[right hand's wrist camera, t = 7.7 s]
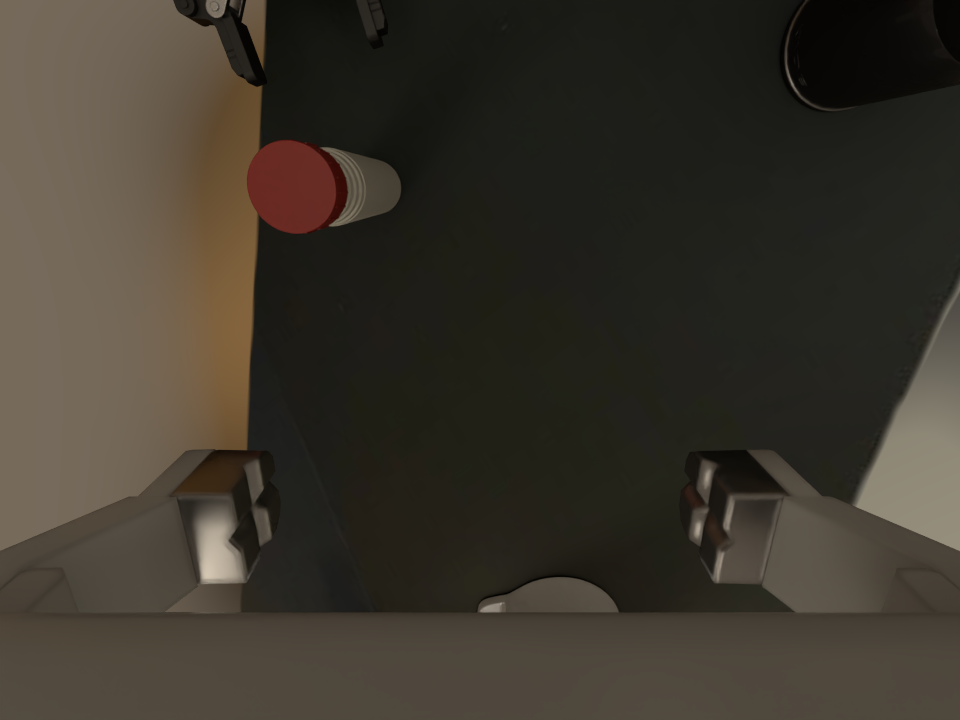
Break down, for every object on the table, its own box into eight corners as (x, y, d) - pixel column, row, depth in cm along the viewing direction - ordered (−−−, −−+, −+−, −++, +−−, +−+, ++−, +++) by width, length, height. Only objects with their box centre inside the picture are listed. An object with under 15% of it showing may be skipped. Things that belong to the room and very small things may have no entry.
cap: (250, 158, 26) (229, 156, 23) (329, 130, 25) (315, 125, 23) (286, 241, 27) (269, 246, 25) (361, 215, 26) (351, 218, 24)
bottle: (341, 169, 43) (232, 156, 24) (390, 152, 42) (318, 125, 23) (361, 220, 44) (272, 246, 25) (408, 204, 44) (354, 218, 25)
